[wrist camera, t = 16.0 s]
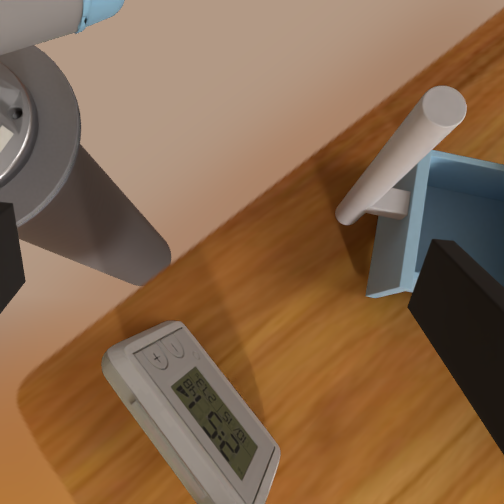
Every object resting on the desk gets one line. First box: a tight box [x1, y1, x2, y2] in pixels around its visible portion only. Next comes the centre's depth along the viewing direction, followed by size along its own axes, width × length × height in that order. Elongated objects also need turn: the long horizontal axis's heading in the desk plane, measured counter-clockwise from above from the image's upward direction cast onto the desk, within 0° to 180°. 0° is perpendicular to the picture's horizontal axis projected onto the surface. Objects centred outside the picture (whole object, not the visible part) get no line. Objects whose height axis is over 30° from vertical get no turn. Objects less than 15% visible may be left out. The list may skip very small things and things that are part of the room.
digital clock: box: [101, 321, 281, 504], centre depth 33 cm, size 16×9×11 cm, turn 28°
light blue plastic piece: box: [335, 86, 504, 298], centre depth 30 cm, size 20×14×22 cm
